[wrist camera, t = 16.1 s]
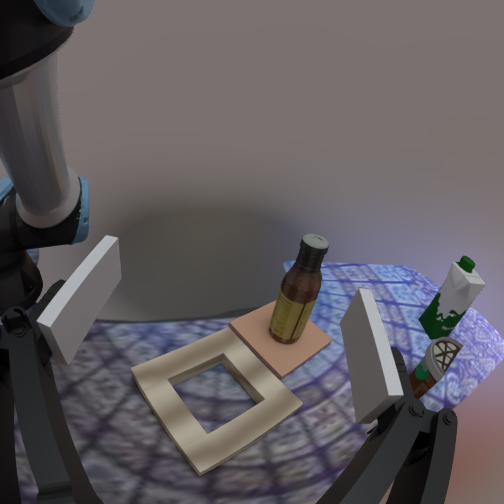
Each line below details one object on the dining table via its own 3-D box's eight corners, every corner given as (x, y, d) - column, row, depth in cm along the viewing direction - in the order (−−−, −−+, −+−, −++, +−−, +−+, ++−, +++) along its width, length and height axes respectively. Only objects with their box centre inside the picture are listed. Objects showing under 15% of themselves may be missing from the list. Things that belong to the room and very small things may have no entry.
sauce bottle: (296, 320, 54) (331, 231, 43) (303, 345, 49) (346, 254, 38) (263, 319, 52) (292, 226, 42) (268, 345, 47) (303, 250, 37)
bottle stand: (133, 378, 37) (130, 368, 36) (226, 337, 48) (228, 326, 47) (199, 476, 27) (200, 472, 25) (296, 411, 38) (303, 403, 36)
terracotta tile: (228, 326, 51) (229, 322, 50) (281, 301, 59) (283, 297, 59) (280, 380, 43) (282, 376, 42) (330, 343, 51) (332, 339, 51)
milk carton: (435, 316, 64) (472, 256, 53) (450, 340, 57) (493, 279, 46) (414, 316, 63) (453, 252, 52) (429, 342, 55) (475, 276, 44)
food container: (419, 357, 51) (444, 326, 45) (436, 374, 47) (464, 344, 41) (392, 385, 44) (421, 352, 39) (412, 405, 40) (444, 375, 35)
